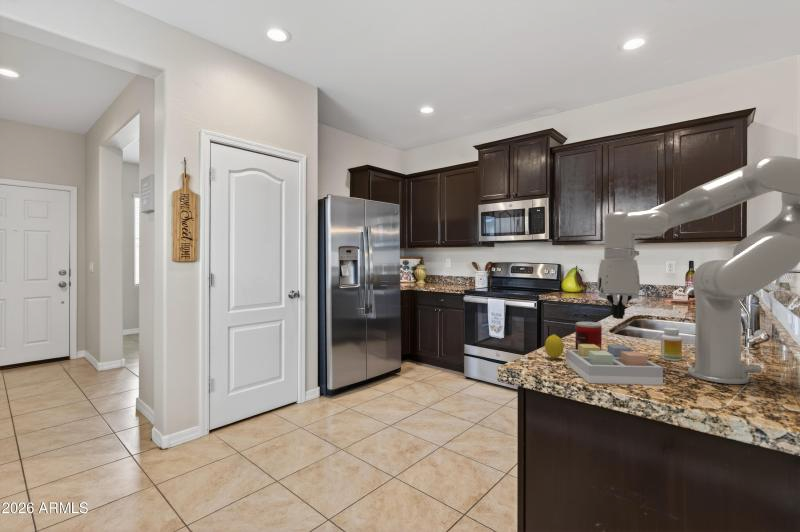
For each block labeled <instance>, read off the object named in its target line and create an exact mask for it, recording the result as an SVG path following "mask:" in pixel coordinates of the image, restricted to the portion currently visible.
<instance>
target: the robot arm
mask: <svg viewBox="0 0 800 532" xmlns="http://www.w3.org/2000/svg"><path fill="white" fill-rule="evenodd" d="M771 192H772V193H773V192H778V193H781V209H780V212H779V213H778V215H776V216H775V217H774V218H773V219H772V220H771V221H770V222H767V223H766V224H765V225H763V226H762V227H760V228H758V230H756V231H754V232H753V233H751V234H749V235H748V236H746V237H745V238H743V239H742V240H741V241H739V242H737V244H736V245H735V246H734V249H733V252H732V257H731V258H729V259H726V260H725V259H715V260H709V261H706V262H703V263H701V264H700V265H698V266H697V268H696V269H695V271H694V272H693V276H692V288H693V294H694V304H695V312H694V313H695V314H694V315H695V322H694V323H695V325H694V326H695V332H694V334H695V335H694V337H695V338H694V341H695V343H694V344H695V345H694V346H695V347H694V352H695V353H694V364H695V365H694V366H691V367H689V368H687V373H688V374H689V375H690V376H692V377H693V378H696V379H700V380H704V381H709V382H711V383H719V384H729V385H742V384H747V383H749V382H750V380H749V376H748V375H747V374H748V373H761V372H762V366H760V365H759V364H747V363H745V362H742V306H741V301H740V299H743V298H746V297H750V296H752V295H754V294H756V293H757V292H759V291H760V290H762V289H764V288H765V287H767V286H769V285H770V284H772V283H773V282H774V281H777V280H778V279H779V278H781V277H783V276H784V275H786V274H788V273H789V272H791V271H792V270H793V269H795V268H796V267H797V266H798V265H799V264H800V158H798V157H790V156H784V155H783V156H781V155H772V156H767V157H764V158H761V159H759V160H757V161H756V160H755V161H754V162H752V163H750V164H748V165H744V166H743V167H739V168H737V169H734V171H731V172H729V173H726V174H724V175H722V176H720V177H717V178H715V179H713V180H710V181H708V182H704V184H701V185H698V186H696V187H694V188H692V189H690V190H688V191H685V192H684V193H683V194H681V195H679V196H677V197H674V198H673V199H670V200H668V201H666V202H665V203H662V204H660V205H657V206H654V207H652V208H650V209H647V210H639V211H612V212H608V213H607V214H606V215H605V218H604V257H603V259H601V260H600V262H599V266H598V267H599V269H598V274H597V280H596V281H597V282H596V283H597V284H596V289H597V291H598V298H603V299H605V300H607V301H608V302H609V303H610V305H611V308H610V309H611V312H610V313H611V315H612V318H614V319H617V320H619V319H621V320H624V316H625V313H626V312H625V311H626V305H627V304H628V303H629V302H630V300H635V299H638V298H640V294H639V293H640V283H641V282H640V271H639V265H638V260H637V259H635V258H636V257H638V256H640V251H639V250H636V248H635V237H637V238H640V239H648V238H654V237H659V236H661V235H663V234H664V233H666V232H667V231H668V230H670V229H671V228H672V229H673V228H674V227H677V226H681V225H683V224H685V223H689V222H692V221H696V220H701V219H704V218H707V217H710V216H712V215H713V216H714V215H715V214H718V213H721V212H723V211H725V210H728V209H730V208H732V207H735V206H738V205H741V204H742V203H745V202H747V201H750V200H752V199H754V198H757V197H759V196H762V195H764V194H767V193H771Z"/></svg>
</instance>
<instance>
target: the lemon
mask: <svg viewBox="0 0 800 532" xmlns="http://www.w3.org/2000/svg"><path fill="white" fill-rule="evenodd" d="M544 349H545V352H546V354H547V355H548V356H549V357H550V358H552V359H554V360H556V359H557V358H559V357H561V356H562V354H563V352H564V343H563V340H562V339H561V338H560V337H559V336H558V335H556V334H554V333H553V334H551V335H549V336H547V338H546V340H545V343H544Z"/></svg>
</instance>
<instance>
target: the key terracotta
mask: <svg viewBox="0 0 800 532" xmlns="http://www.w3.org/2000/svg"><path fill="white" fill-rule="evenodd" d="M647 360H648V355H647V354H644V353H642V352H640V351H632V352H629V351H621V363H623V364H625V365H626V366H647Z"/></svg>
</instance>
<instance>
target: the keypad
mask: <svg viewBox="0 0 800 532" xmlns="http://www.w3.org/2000/svg"><path fill="white" fill-rule="evenodd" d="M600 351H607V352H608V349H605V350H604V349H601V350H600ZM566 366H568V367H569V368H570V369H572V370H573V371H574V372H575V373H577V374H578V376H580V378H582V379H583V378H584V379H583V380H584V381H586V382H587V383H588V384H602V385H603V384H606V385H607V384H609V385H642V386H643V385H644V386H645V385H646V386H647V385H648V386H664V367H663V366H660V365H659V364H656V363H655V362H653V361H650V360H648V359H647V366H626V365H625V364H623V363H621V357H613V365H593V364H591V363H590V362H589V357H581V356H580V355H579V354H578V350H576V349H566Z"/></svg>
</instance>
